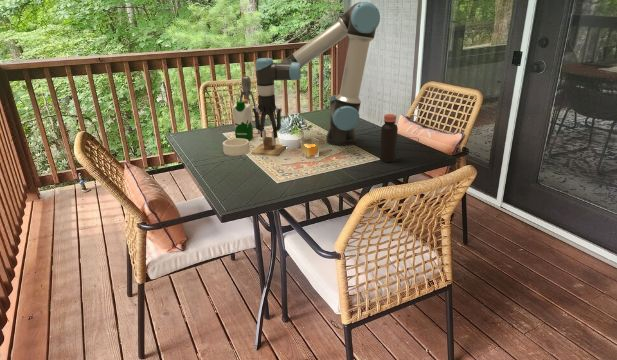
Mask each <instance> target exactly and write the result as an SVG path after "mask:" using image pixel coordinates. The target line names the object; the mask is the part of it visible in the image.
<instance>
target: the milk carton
mask: <svg viewBox="0 0 617 360" xmlns="http://www.w3.org/2000/svg"><path fill="white" fill-rule="evenodd" d="M252 112H253V110H252V103H250V104H249V103H245V101H243V100H242V101H240V100H239V101H237V102H236V104H234V105H233V106H232V116H233V126H234V136H235V138H242V139H247V140H248V141H249V142H250V141H251V140H252V139H253V138H254V129H253V128H254V127H253V126H254V125H253V116H252V115H253V113H252Z"/></svg>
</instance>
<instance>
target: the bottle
mask: <svg viewBox="0 0 617 360" xmlns="http://www.w3.org/2000/svg"><path fill="white" fill-rule="evenodd" d="M383 118H384V119H383V121H384V124H383V125H382V126H381V130H380V148H379V149H380V150H379V153H380V154H379V160H380V162H382V161H383V162H382V163H386V162H391V163H394V162H396V159H397V158H396V157H397V142H398V129H399V127H398V125H396V122H397V115H396V114H391V113H390V114H389V113H388V114H384V117H383ZM393 161H394V162H393Z"/></svg>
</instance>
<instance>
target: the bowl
mask: <svg viewBox="0 0 617 360" xmlns="http://www.w3.org/2000/svg"><path fill="white" fill-rule="evenodd" d="M250 147H251V146H250V141H248V140H247V139H242V138H236V137H235V138H229V139H225V140H224V141H222V148H223V149H222V150H223V154H224V155H226V156H231V157H233V156H234V157H237V156H243V155H246V154H249V153H250V151H251V150H250V149H251V148H250Z"/></svg>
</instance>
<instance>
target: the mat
mask: <svg viewBox="0 0 617 360" xmlns="http://www.w3.org/2000/svg"><path fill="white" fill-rule="evenodd" d="M287 150H288V149H285V150H284V151H283V152H282V153H281V154H280V155H279V156H270V155H256V154H252V151H251V152H249V153H248V156H257V157H270V158H281V156H282V155H283V154H285V153H286V151H287Z"/></svg>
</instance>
